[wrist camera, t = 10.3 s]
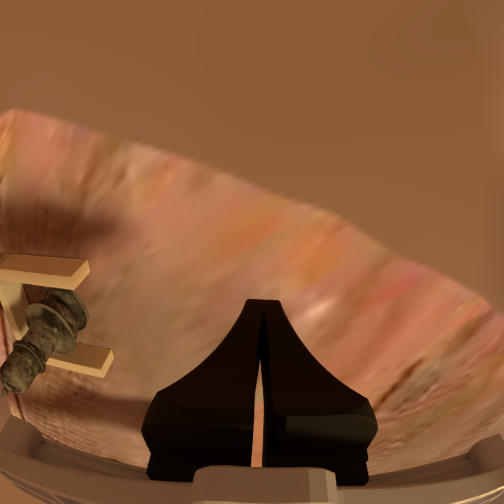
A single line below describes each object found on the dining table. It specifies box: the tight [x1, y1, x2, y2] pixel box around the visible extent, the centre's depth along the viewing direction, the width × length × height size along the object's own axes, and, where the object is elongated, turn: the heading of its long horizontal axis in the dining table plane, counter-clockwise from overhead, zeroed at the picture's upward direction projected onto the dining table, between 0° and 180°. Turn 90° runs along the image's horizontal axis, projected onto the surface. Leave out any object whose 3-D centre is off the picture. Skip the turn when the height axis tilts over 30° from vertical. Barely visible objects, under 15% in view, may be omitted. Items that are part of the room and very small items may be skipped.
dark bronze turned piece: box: [0, 287, 88, 396], centre depth 21 cm, size 6×6×12 cm
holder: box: [0, 253, 114, 378], centre depth 25 cm, size 11×11×3 cm
